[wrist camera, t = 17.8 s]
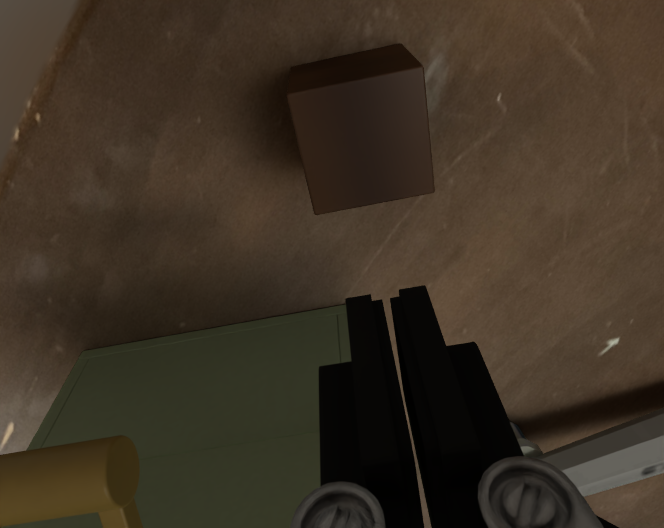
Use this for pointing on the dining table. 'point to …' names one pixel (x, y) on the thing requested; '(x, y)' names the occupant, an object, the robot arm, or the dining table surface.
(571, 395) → the dining table surface
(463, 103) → the dining table surface
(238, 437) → the chest
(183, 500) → the lid
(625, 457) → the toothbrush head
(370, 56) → the block
